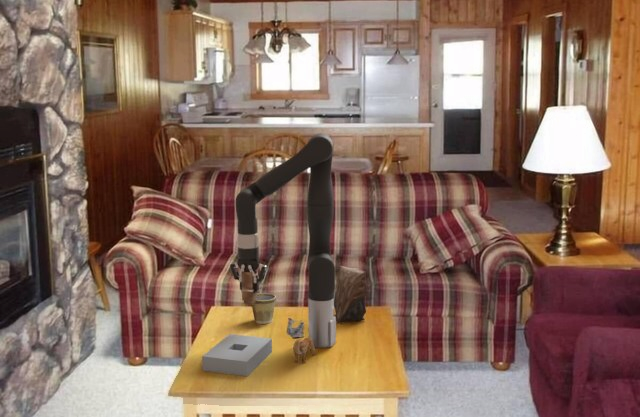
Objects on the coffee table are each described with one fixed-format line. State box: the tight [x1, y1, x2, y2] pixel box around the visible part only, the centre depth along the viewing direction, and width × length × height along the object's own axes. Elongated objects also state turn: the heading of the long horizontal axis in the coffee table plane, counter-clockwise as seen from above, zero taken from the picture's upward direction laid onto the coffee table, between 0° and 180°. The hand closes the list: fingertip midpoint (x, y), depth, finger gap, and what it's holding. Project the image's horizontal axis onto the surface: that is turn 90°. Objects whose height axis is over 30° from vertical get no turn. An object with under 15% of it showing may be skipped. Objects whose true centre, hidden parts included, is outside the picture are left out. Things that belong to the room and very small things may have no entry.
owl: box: [334, 265, 368, 324], centre depth 309 cm, size 13×13×20 cm
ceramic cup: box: [251, 292, 277, 325], centre depth 308 cm, size 13×10×10 cm
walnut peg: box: [241, 271, 258, 306], centre depth 281 cm, size 4×4×12 cm
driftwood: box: [286, 317, 305, 339], centre depth 299 cm, size 21×7×2 cm, turn 179°
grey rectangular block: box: [201, 333, 273, 377], centre depth 267 cm, size 16×22×5 cm
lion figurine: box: [292, 337, 316, 364], centre depth 268 cm, size 15×5×9 cm, turn 165°
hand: (249, 291), depth 281 cm, fingers closed on walnut peg, 4 cm apart
